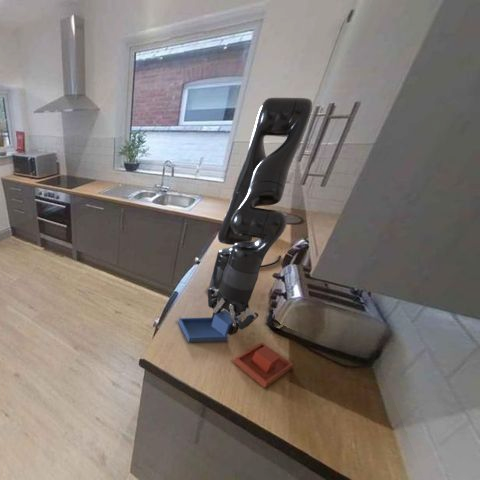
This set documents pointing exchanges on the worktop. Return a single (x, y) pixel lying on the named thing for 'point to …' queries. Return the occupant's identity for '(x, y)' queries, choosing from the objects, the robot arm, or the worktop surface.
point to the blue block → (222, 322)
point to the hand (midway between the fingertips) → (223, 327)
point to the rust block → (265, 359)
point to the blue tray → (200, 330)
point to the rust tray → (256, 372)
